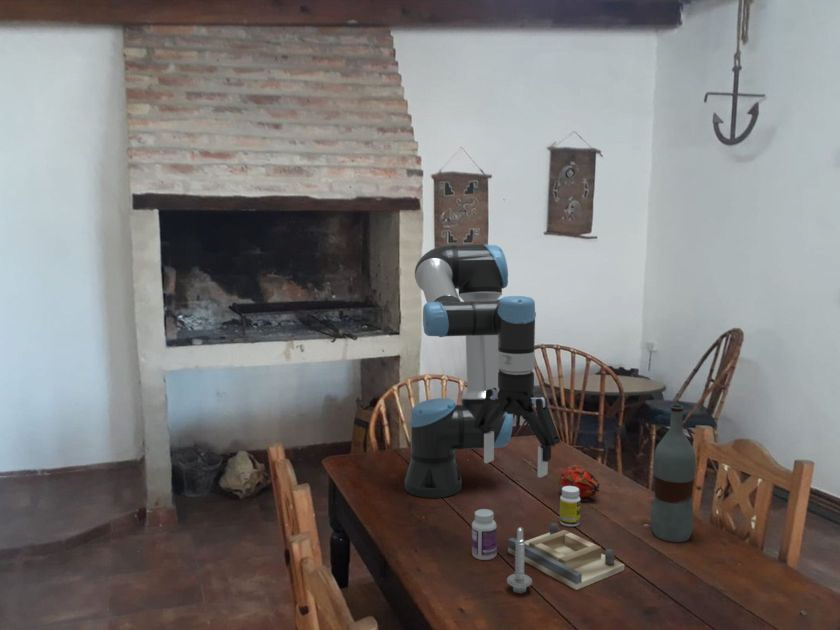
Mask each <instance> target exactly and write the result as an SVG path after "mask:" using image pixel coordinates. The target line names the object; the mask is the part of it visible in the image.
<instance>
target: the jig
mask: <svg viewBox="0 0 840 630" xmlns="http://www.w3.org/2000/svg"><path fill="white" fill-rule="evenodd" d="M516 539H517V538H514V537H510V538H508V539H507V553H509V554H510V555H512V556H514V557H516V556H515V554H516V553H515V551H516V550H515V548H516V547H515V545H516V544H515V542H516ZM524 542H525V543H524V544H525V546H524V547H525V549H524V550H525V552H524V553H525V554H524V556H525V557H524V559H525V560H524V562H525V563H527V564H529V565H530V566H532V567H534V568H536V569H537V570H539V571H541V572H542V573H545V574H546V575H548V576H550V577H551V578H554V579H556V580H557V581H559V582H561V583H563V584H564V585H566V586H568V587H569V588H572V589H573V590H576V591H578V590H581V589H582V588H585V587H587V586H589V585H592V584H594V583H597V582H599V581H602V580H604V579H607V578H609V577H611V576H613V575H617V574H618V573H621V572H623V571H625V564H624V563H622V562H620V561H618V560H616V559H615V550H614V549H612V548H607V549H605V552H604V553H605V554H603V553H602V549H603V548H602V547H601V546H599V545H597V544H595V543H593V542H591V541H589V540H587V539H585V538H582V537H580V536H578V535H577V534H574V533H572V532H570V531H568V530H566V529H562V530H560V531H559V524H558V523H556V522H551V523H550V524H549V532H547V533H544V534H541V535H538V536H536V537H533V538H530V539H527V540H524Z"/></svg>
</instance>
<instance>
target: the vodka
mask: <svg viewBox="0 0 840 630" xmlns="http://www.w3.org/2000/svg"><path fill="white" fill-rule="evenodd" d="M683 411H684V406H683V405H680V404H671V405H670V420H669V421H670V423H669V424H670V425H669V429H668V431H667V432H666V433H665V435H664V436H663V437H662V439H661V440H660V441H659V443H658V444H657V445H656V446H655V450H654V455H653V456H654V457H653V462H652V463H653V464H652V465H653V475H654V476H653V477H654V478H653V481H654V497H653V501H652V508H651V513H650V515H651V516H650V518H651V529H652V533H653V535H654V536H655V537H656V538H658V539H659V540H662V539H663V541H665V542H669V543H670V542H671V543H683V542H684V543H685V542H686V541H689V539H690V538H691V537H692V536H691V535H692V532H693V526H694V521H695V520H694V510H693V491H694V486H695V477H696V472H697V461H696V460H697V459H696V453H695V449H694V447H693V445H692V444H691V442H690V441H689V439H688V437H687V435H686V434H685V433H684V430H683V417H684V416H683V415H684V413H683Z"/></svg>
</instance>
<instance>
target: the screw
mask: <svg viewBox="0 0 840 630" xmlns="http://www.w3.org/2000/svg"><path fill="white" fill-rule="evenodd" d="M515 539H516V542H515V544H516V545H515V547H516V548H515V550H516V551H515V553H516V554H515V556H514V559H515V560H514V561H515V562H514V567H515V568H514V570H515V571H514V573H512V574H509V576H508V577H507V578H506V582H507V584H508V585H509V586H511V587H512V591H513V593H516V594H517V593H518V594H523V593H526V592H527V588H528V587H530V586H531V585H533V579H532V578H531V577H530V576H529V575H527V574H525V563H526V562H525V561H524V560H525V559H524V557H525V556H524V554H525V553H524V552H525V550H524V549H525V547H524V546H525V544H524V543H525V542H524V541H525V538H524V528H523V527H522V526H520V527H518V528H517V529H516V538H515Z"/></svg>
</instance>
